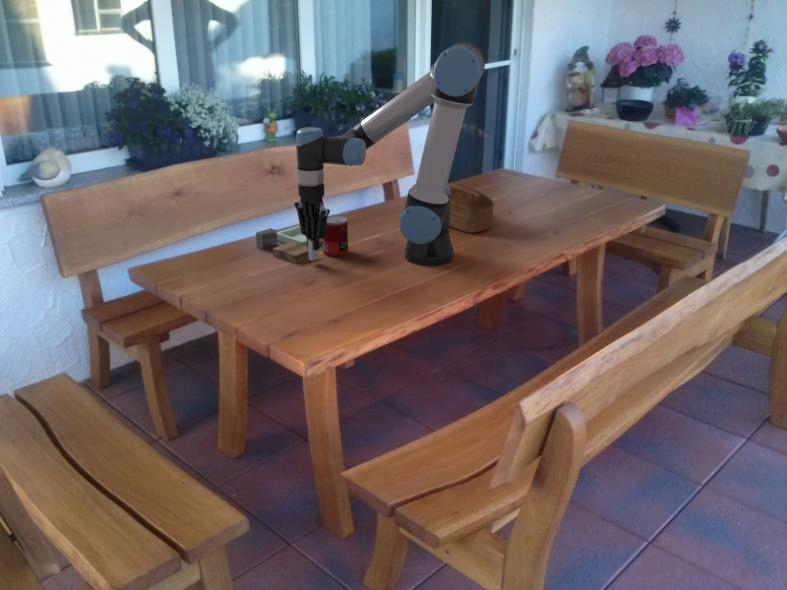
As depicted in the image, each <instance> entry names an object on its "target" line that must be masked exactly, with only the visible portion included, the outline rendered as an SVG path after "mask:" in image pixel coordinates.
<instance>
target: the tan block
mask: <svg viewBox="0 0 787 590" xmlns="http://www.w3.org/2000/svg"><path fill="white" fill-rule="evenodd" d="M272 256H273V257H275V258H277V259H281V260H284V261H287V262H289V263H293V264H295V265H297V264H299V263H300V264H301V263H303V262H304V261H308V260H309V254H308V247H307V246H304V245H301V244H298V243H295V242H290V243H287V244H284V243H283V244H281V245H277V246H274V247H272Z"/></svg>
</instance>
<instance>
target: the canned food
mask: <svg viewBox="0 0 787 590" xmlns="http://www.w3.org/2000/svg"><path fill="white" fill-rule="evenodd" d="M348 223H349V221H348V218H347V217H345V216H344V215H343V216H341V215H328V217H327V224H326V230H325V236H324V238H322V240H323V243H322V252H323V254H324V255H325V256H327V257H334V258H335V257H338V258H339V257H343V256H345V255H347V254H348V252H349V229H348V228H349V225H348Z"/></svg>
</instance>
